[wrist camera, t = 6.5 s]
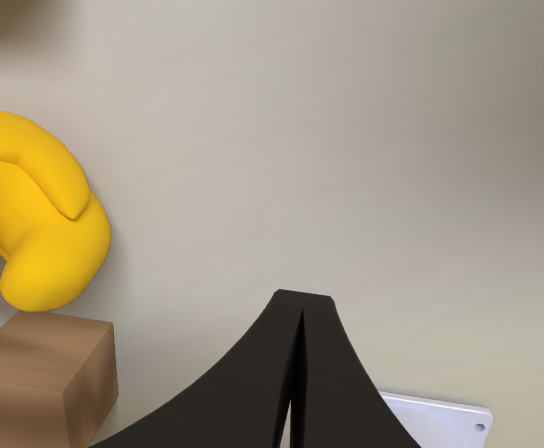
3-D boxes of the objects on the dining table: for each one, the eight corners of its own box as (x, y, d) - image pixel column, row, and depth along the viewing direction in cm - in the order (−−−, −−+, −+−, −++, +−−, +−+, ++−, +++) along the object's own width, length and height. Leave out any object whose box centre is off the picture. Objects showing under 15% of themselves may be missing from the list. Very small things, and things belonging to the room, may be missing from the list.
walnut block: (118, 394, 26) (73, 473, 22) (35, 380, 27) (-27, 455, 22) (113, 321, 24) (62, 392, 20) (22, 307, 25) (-49, 374, 20)
